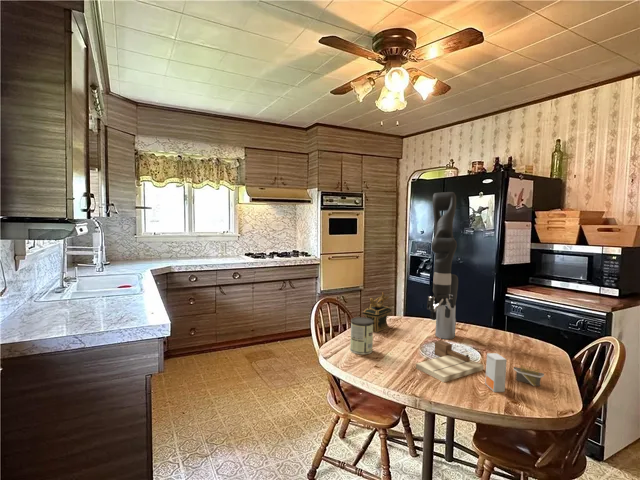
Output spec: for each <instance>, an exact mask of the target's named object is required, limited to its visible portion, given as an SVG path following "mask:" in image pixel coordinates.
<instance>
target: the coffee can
mask: <svg viewBox="0 0 640 480" xmlns="http://www.w3.org/2000/svg"><path fill="white" fill-rule="evenodd" d="M373 323H374V321H373V320H372V319H369V318H367V317H365V316H364V317H361V316H358V317H353V318H351V319H350V343H349V344H350V345H349V346H350V347H349V350H350V352H351V353H353V354H355V355H356V354H357V355H369V354H371V353H373V343H374V342H373V341H374V339H373V338H374V332H373Z"/></svg>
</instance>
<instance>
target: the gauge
mask: <svg viewBox="0 0 640 480" xmlns="http://www.w3.org/2000/svg"><path fill="white" fill-rule="evenodd" d="M452 348H453V344H452V343H449V342H446V341H444V340H441V339H440V340H436V341H434V353H433V354H434V356H437V357H438V358H439V357H443V356H447V355H452V356H454V357H456V358H459V359H461V360H464V361H466V362H468V361H470V360H471V357H470V356H469V354H466V355H465V354H462V353H460V352H457V351H455V350H453V349H452Z"/></svg>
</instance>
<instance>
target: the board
mask: <svg viewBox="0 0 640 480" xmlns="http://www.w3.org/2000/svg"><path fill="white" fill-rule="evenodd" d="M484 367H485V366H484V364H482V363H479V362H477V361H475V360H473V359H470V361H468V362H466V361H464V360H461V359H459V358H456V357H454V356H452V355H447V356H443V357H439V356H438V357H436V358H432V359H427V360H424V361H421V362H417V363H415V369H417V370H419V372H420V371H421V372H422V373H424V374H427V375H428V376H431V377H433V378H435V379H436V380H439V381H441V382H442V383H445V382H449V381H453V380H456V379H459V378H462V377H465V376H469V375H471V374H475V373H478V372H481V371H484Z"/></svg>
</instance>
